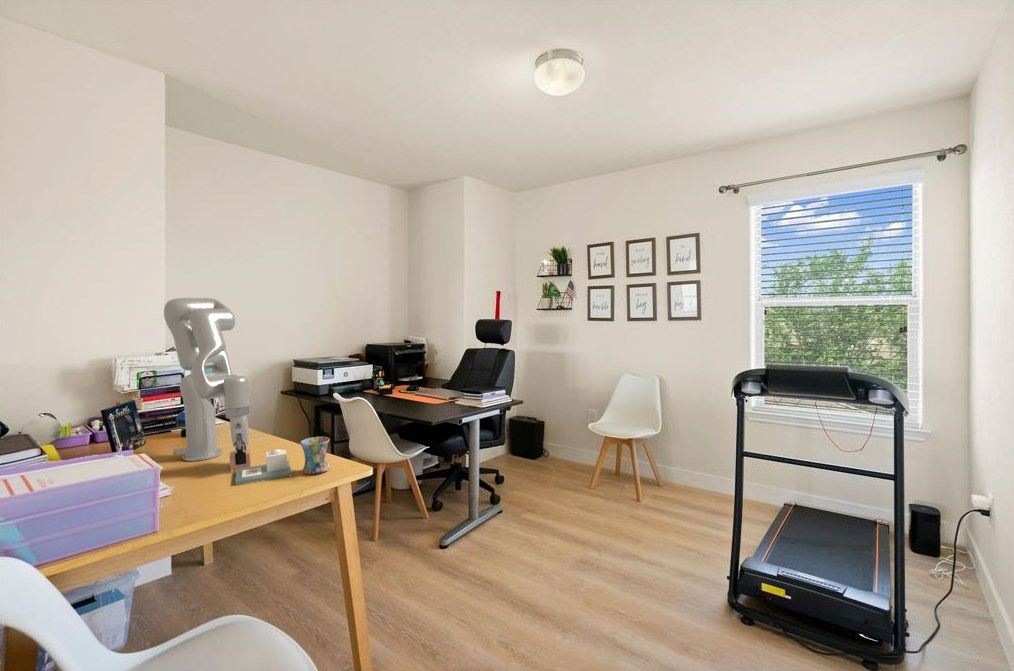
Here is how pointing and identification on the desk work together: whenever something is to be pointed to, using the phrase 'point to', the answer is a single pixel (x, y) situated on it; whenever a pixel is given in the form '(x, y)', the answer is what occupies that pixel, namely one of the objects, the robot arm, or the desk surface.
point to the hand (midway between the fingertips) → (241, 460)
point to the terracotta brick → (234, 466)
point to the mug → (315, 455)
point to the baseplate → (266, 468)
